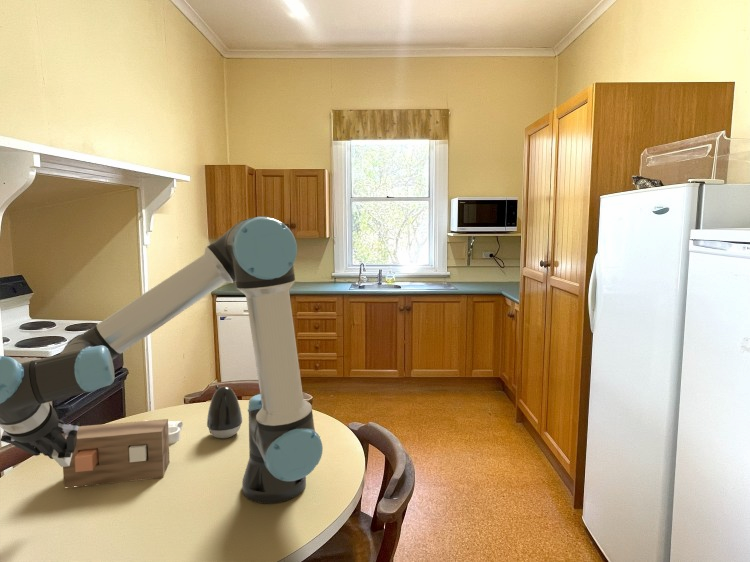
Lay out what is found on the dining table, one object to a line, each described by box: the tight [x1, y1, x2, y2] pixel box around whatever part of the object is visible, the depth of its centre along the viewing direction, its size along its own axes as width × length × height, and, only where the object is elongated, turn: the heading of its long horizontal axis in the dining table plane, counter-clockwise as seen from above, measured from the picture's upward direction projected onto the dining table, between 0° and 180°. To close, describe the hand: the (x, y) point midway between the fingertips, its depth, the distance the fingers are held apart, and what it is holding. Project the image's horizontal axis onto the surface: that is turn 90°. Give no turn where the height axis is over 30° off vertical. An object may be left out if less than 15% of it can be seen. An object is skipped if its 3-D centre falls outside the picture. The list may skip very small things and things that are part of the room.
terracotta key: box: [75, 448, 99, 472], centre depth 109 cm, size 5×4×4 cm
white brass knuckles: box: [144, 419, 184, 445], centre depth 137 cm, size 3×18×15 cm
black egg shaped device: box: [206, 384, 243, 439], centre depth 138 cm, size 10×10×15 cm
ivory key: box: [129, 444, 148, 462], centre depth 114 cm, size 5×4×4 cm
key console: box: [62, 418, 171, 489], centre depth 115 cm, size 8×22×12 cm, turn 104°
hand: (67, 460), depth 99 cm, fingers closed
